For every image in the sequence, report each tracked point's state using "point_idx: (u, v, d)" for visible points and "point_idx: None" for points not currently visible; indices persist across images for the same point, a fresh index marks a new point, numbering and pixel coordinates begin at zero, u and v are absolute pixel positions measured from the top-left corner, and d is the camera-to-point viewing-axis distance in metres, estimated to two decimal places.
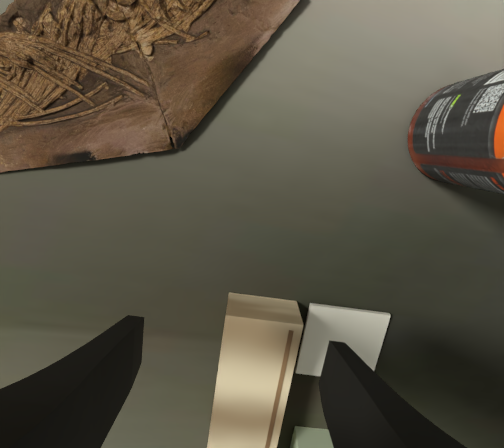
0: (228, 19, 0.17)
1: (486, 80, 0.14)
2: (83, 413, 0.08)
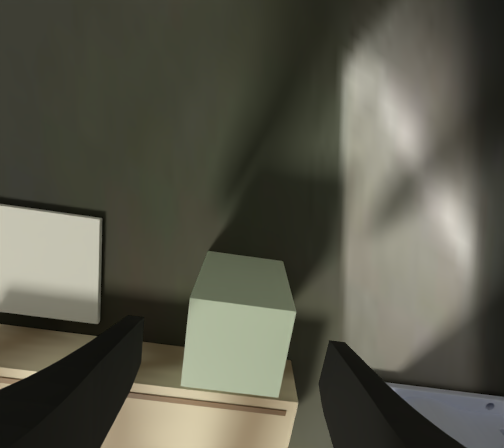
0: None
1: None
2: (83, 413, 0.08)
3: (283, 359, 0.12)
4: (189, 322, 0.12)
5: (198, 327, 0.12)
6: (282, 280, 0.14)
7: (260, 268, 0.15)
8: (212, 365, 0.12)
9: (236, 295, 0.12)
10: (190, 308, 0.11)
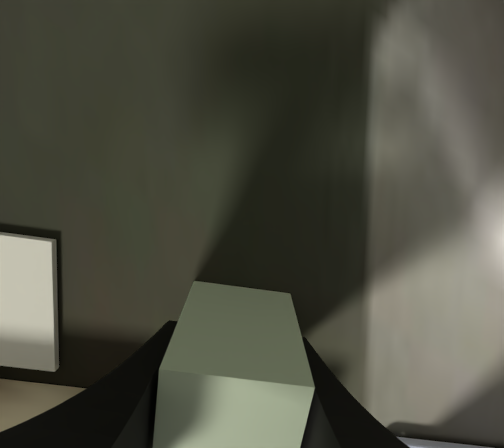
0: None
1: None
2: (144, 420, 0.08)
3: None
4: (159, 402, 0.08)
5: (172, 408, 0.08)
6: (291, 327, 0.10)
7: (262, 307, 0.11)
8: None
9: (228, 359, 0.08)
10: (160, 383, 0.08)
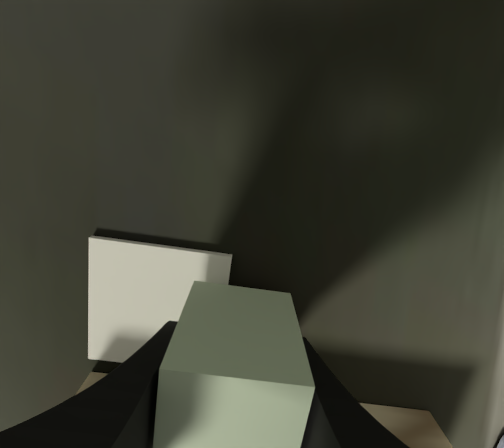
0: None
1: None
2: (144, 420, 0.08)
3: None
4: (159, 402, 0.08)
5: (172, 408, 0.08)
6: (291, 327, 0.10)
7: (262, 307, 0.11)
8: None
9: (228, 359, 0.08)
10: (160, 383, 0.08)
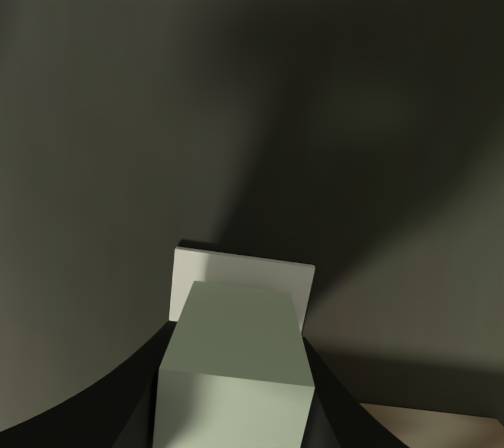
0: None
1: None
2: (144, 420, 0.08)
3: None
4: (159, 402, 0.08)
5: (172, 407, 0.08)
6: (291, 327, 0.10)
7: (262, 307, 0.11)
8: None
9: (228, 359, 0.08)
10: (160, 383, 0.08)
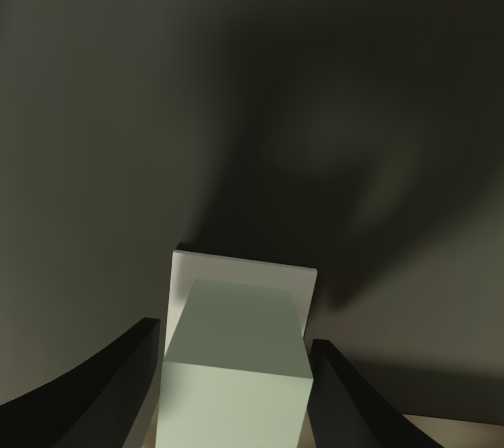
0: None
1: None
2: (108, 416, 0.08)
3: (294, 440, 0.09)
4: (163, 393, 0.08)
5: (175, 399, 0.08)
6: (291, 322, 0.11)
7: (262, 303, 0.12)
8: None
9: (229, 352, 0.09)
10: (164, 374, 0.08)
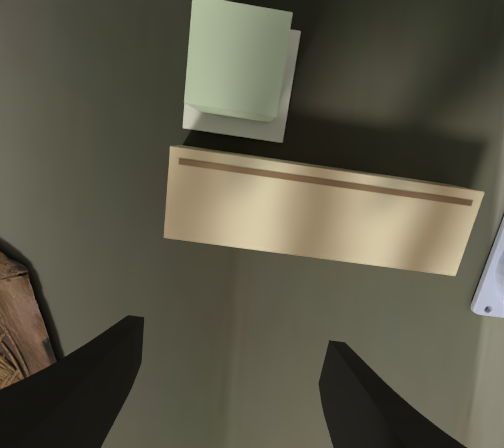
0: None
1: None
2: (83, 413, 0.08)
3: (280, 70, 0.13)
4: (192, 24, 0.12)
5: (200, 30, 0.12)
6: None
7: None
8: (214, 77, 0.13)
9: None
10: (193, 8, 0.12)
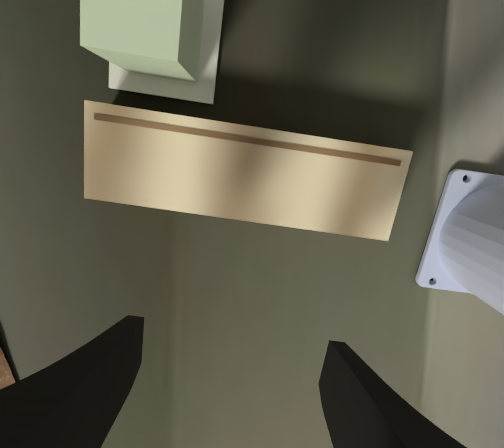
0: None
1: None
2: (83, 413, 0.08)
3: (178, 10, 0.12)
4: None
5: None
6: None
7: None
8: (109, 17, 0.12)
9: None
10: None
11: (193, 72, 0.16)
